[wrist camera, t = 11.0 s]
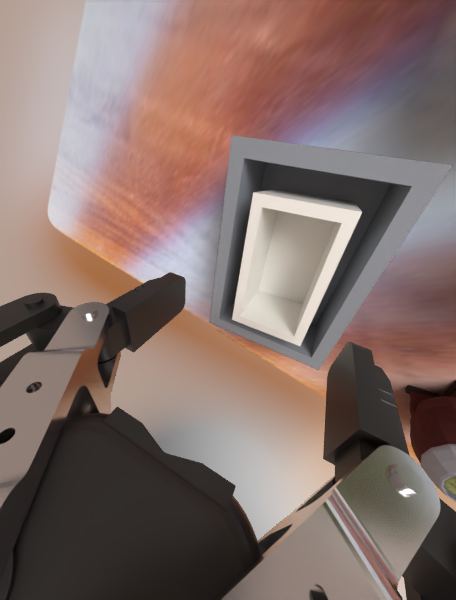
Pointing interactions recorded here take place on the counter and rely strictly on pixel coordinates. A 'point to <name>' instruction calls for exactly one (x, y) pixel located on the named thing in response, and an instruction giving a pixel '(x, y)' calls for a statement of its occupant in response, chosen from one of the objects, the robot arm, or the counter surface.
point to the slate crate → (330, 184)
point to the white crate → (290, 260)
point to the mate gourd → (435, 435)
